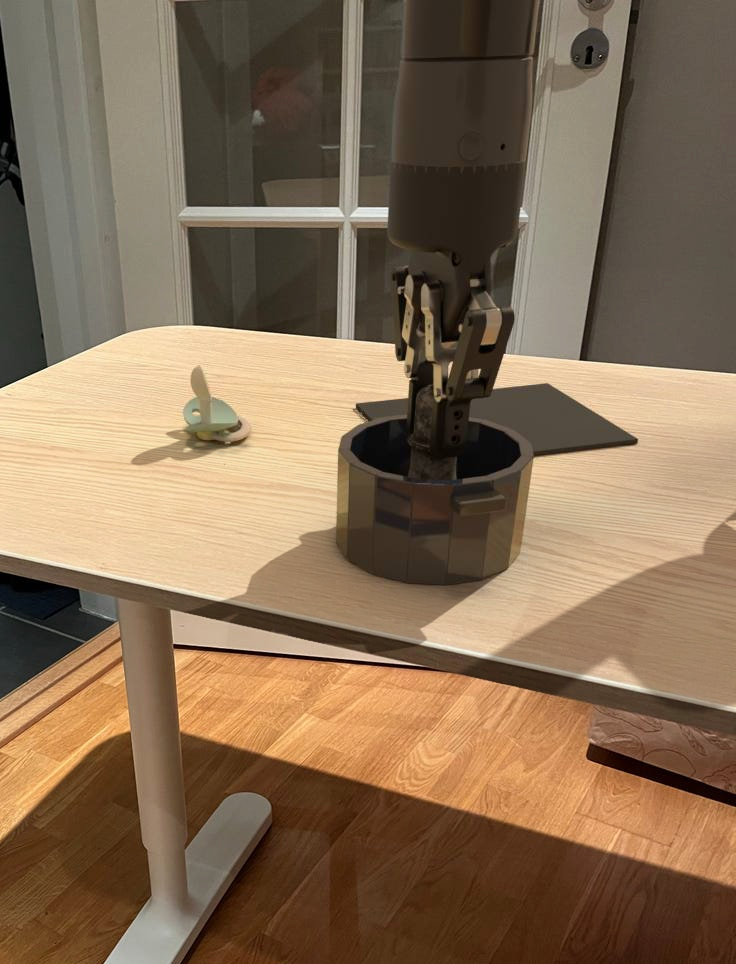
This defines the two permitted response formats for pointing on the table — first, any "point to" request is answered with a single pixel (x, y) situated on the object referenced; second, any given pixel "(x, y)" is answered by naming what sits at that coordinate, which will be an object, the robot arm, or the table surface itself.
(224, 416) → the pacifier
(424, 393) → the salt shaker
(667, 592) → the table surface
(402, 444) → the pot
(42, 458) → the table surface
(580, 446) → the mat
